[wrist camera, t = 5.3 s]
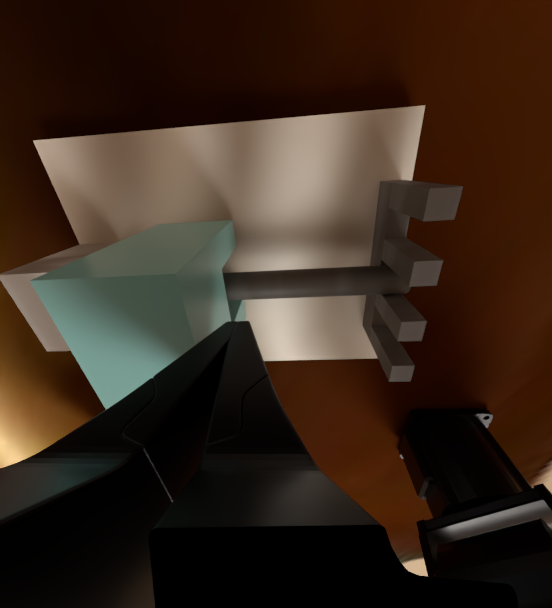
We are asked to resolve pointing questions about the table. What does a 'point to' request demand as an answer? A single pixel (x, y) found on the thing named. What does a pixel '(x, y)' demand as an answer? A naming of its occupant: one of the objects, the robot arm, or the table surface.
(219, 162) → the cord board
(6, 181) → the table surface
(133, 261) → the teal block
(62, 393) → the table surface
